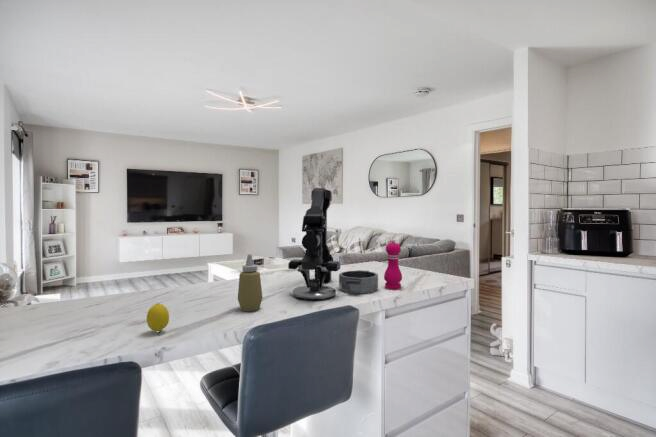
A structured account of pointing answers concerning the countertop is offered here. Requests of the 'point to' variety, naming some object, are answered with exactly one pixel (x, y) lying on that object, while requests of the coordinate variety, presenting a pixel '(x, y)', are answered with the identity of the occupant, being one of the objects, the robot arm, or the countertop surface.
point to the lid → (314, 291)
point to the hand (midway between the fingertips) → (314, 288)
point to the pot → (358, 282)
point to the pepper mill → (393, 266)
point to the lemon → (157, 317)
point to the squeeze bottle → (249, 287)
